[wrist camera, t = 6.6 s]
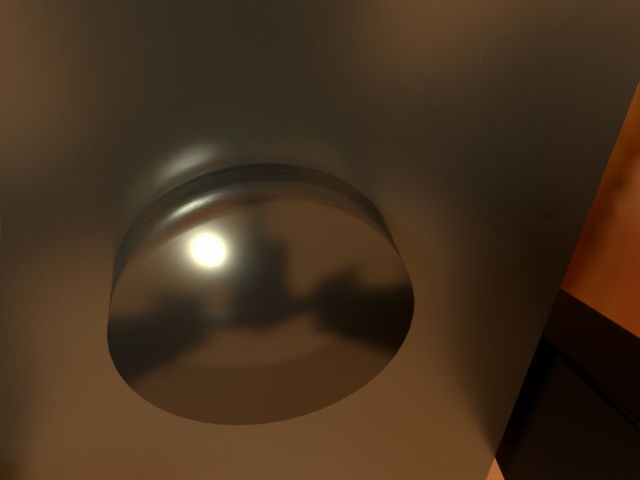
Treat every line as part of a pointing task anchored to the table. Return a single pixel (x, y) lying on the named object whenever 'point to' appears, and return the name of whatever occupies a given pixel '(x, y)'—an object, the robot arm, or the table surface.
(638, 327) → the table surface
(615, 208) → the table surface
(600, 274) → the table surface
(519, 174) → the housing
